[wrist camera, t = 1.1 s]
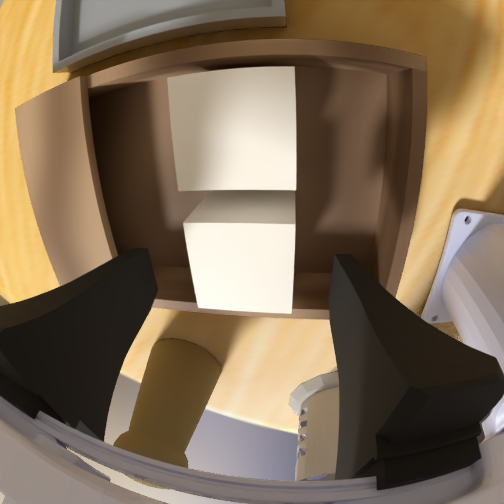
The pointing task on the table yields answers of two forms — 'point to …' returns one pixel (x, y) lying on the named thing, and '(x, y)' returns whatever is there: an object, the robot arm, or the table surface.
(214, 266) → the cube
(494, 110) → the table surface
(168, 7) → the slate dish
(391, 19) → the table surface
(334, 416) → the french press
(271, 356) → the table surface
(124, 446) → the cork
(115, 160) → the walnut box
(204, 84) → the cube
